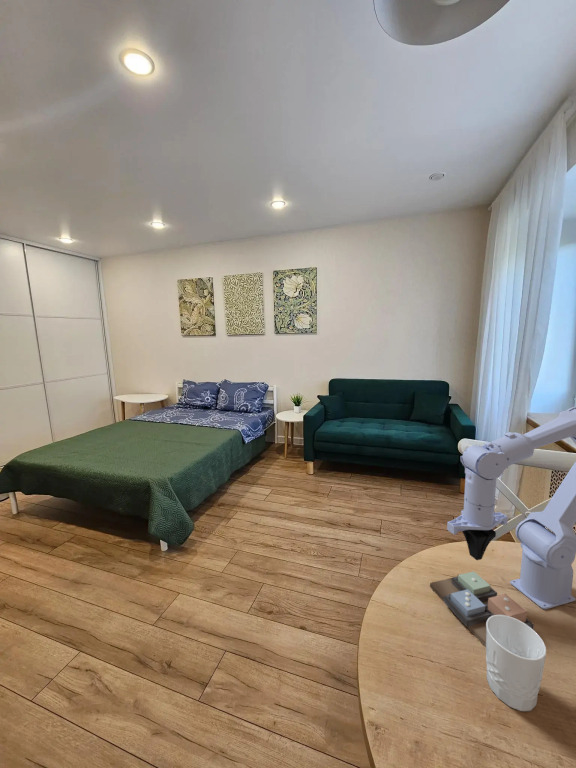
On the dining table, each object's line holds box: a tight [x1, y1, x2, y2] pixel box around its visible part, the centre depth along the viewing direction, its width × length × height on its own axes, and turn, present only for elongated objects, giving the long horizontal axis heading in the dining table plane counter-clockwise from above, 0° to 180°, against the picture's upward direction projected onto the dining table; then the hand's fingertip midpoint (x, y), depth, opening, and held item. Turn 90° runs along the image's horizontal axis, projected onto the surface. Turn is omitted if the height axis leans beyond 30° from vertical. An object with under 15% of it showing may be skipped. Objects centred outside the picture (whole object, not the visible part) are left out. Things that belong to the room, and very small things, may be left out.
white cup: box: [485, 615, 547, 712], centre depth 50 cm, size 8×8×10 cm
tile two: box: [488, 593, 527, 623], centre depth 62 cm, size 4×4×3 cm
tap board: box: [429, 576, 535, 648], centre depth 66 cm, size 12×17×2 cm
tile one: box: [458, 571, 492, 596], centre depth 70 cm, size 4×4×3 cm
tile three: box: [450, 589, 485, 617], centre depth 65 cm, size 4×4×3 cm
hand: (475, 556), depth 69 cm, fingers closed
